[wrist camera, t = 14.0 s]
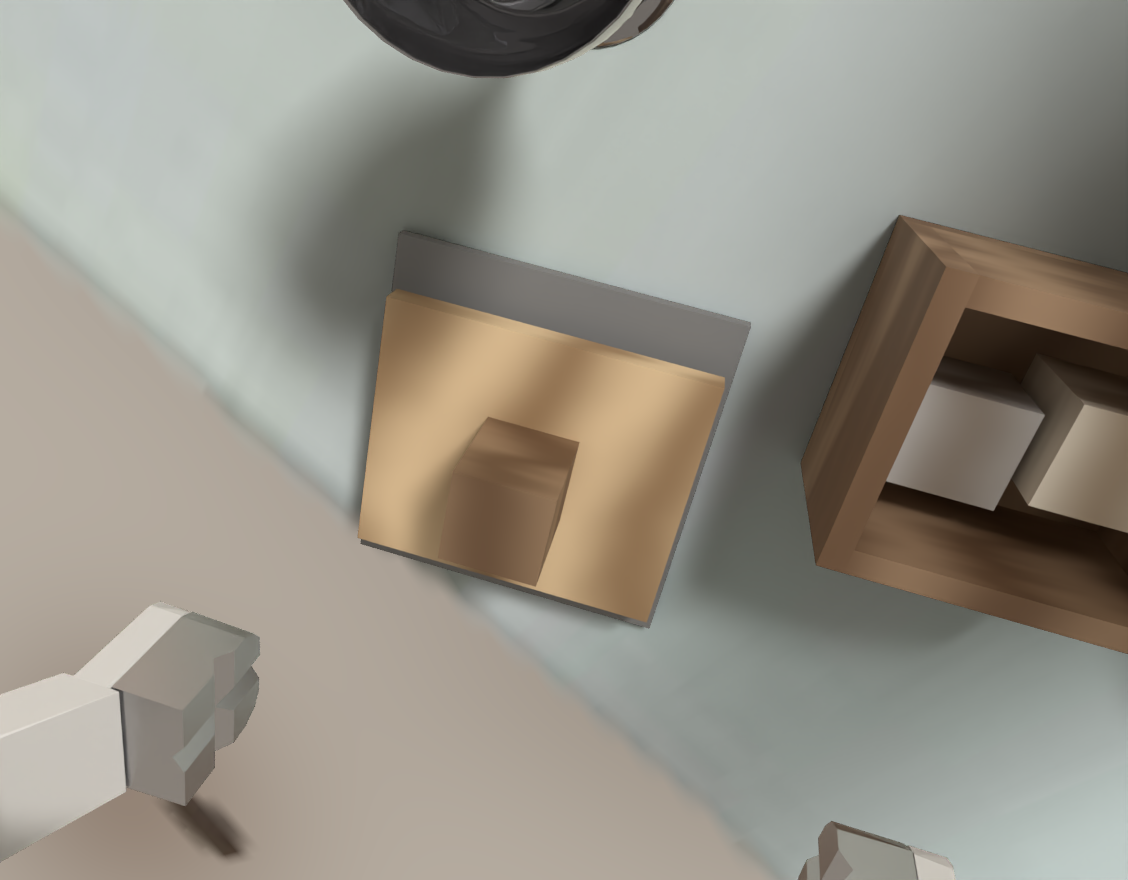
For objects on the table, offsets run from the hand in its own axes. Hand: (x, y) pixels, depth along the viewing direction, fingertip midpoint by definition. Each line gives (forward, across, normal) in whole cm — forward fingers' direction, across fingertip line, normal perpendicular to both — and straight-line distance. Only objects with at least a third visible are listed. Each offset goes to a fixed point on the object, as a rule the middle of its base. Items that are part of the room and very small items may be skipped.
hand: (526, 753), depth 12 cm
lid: (+24, +5, +9) cm, 26 cm away
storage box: (+26, -13, +2) cm, 29 cm away
